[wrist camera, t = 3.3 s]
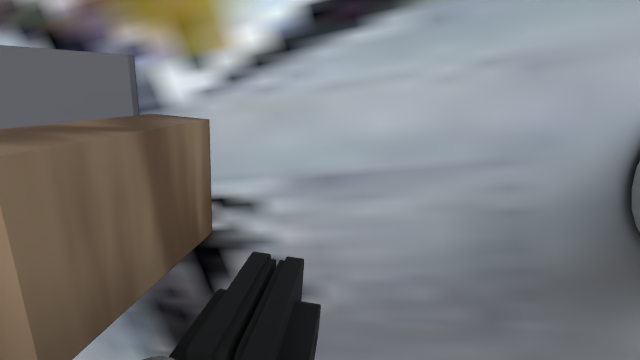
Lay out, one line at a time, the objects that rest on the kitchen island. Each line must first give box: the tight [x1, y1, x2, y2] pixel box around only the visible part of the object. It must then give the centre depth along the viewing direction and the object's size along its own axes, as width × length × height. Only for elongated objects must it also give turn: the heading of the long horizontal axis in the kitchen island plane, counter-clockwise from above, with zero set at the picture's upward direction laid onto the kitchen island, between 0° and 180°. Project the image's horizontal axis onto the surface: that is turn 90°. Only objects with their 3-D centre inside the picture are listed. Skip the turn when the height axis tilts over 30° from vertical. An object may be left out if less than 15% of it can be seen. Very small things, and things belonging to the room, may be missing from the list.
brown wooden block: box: [0, 114, 212, 360], centre depth 15 cm, size 4×8×12 cm, turn 175°
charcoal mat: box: [0, 45, 139, 129], centre depth 22 cm, size 14×15×1 cm
